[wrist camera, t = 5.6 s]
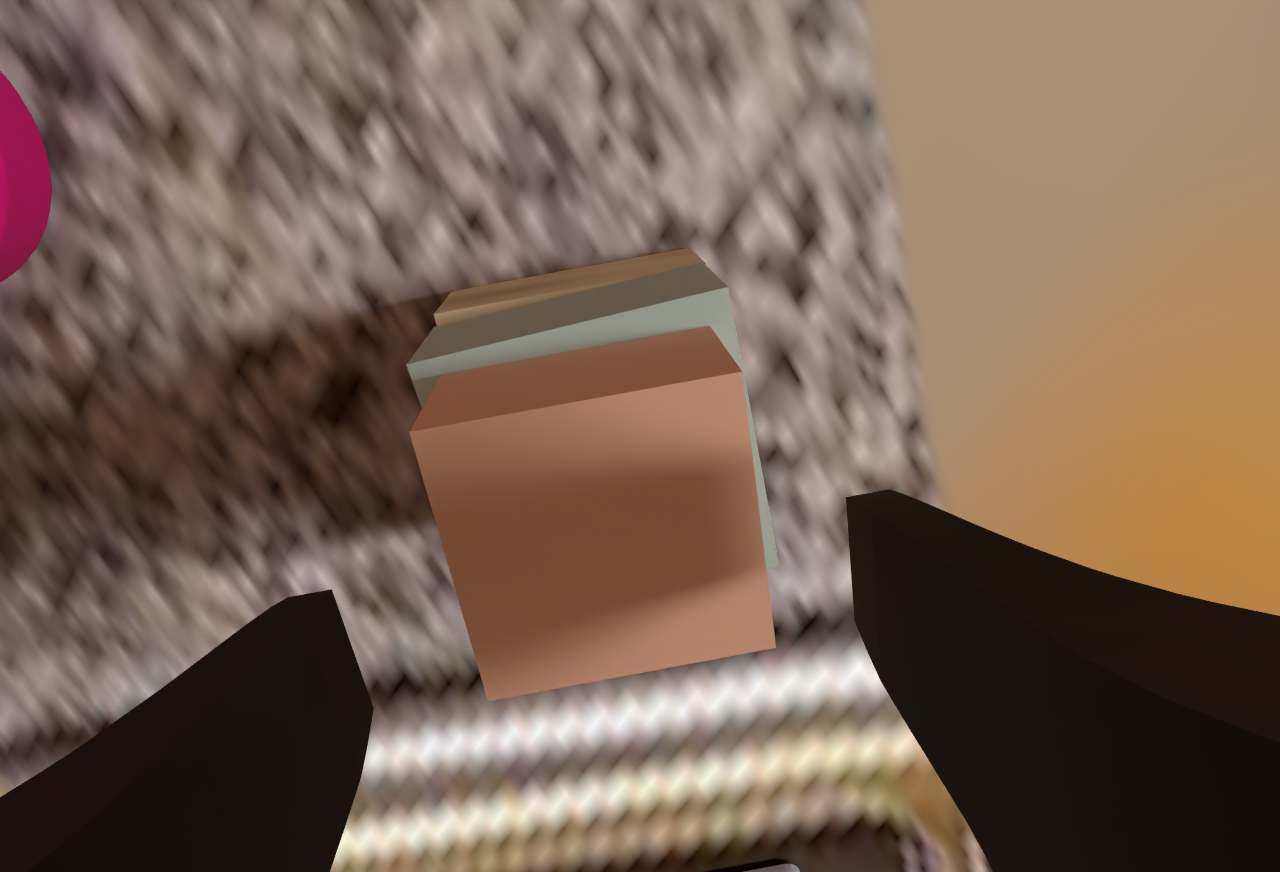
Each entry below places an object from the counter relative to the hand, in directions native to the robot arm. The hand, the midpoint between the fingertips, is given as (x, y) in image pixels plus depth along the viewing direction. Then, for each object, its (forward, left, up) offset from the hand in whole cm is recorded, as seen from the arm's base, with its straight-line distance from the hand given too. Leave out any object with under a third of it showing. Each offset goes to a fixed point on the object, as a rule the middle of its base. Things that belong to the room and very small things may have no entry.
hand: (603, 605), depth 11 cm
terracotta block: (0, 0, -5) cm, 5 cm away
